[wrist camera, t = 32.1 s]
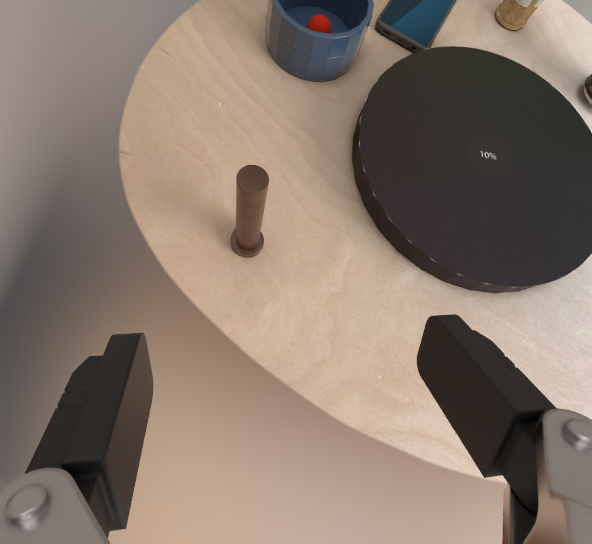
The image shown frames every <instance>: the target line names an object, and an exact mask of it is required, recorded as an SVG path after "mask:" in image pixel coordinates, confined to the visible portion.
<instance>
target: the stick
mask: <svg viewBox="0 0 592 544" xmlns="http://www.w3.org/2000/svg"><path fill="white" fill-rule="evenodd" d="M268 183H269V177H268V174H267V173H266V171H265V170H264V169H263V168H261V167H259V166H256V165H247V166H245V167H243V168H242V169H240V171H239V172H238V174H237V185H236V229H235V230H234V231H233V233H232V235H231V246H232V249H233V250H234V252H235V253H236V254H238V255H239V256H242V257H253V256H255V255H257V254H258V253H259V252H260V251H261V249H262V247H263V243H264V238H263V235H262V233H261V231H260V230H261V224H262V219H263V213H264V207H265V201H266V195H267V189H268Z"/></svg>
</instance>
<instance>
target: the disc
mask: <svg viewBox="0 0 592 544" xmlns="http://www.w3.org/2000/svg"><path fill="white" fill-rule="evenodd" d="M352 159H353V165H354V171H355V177H356V183H357V185H358V188H359V190H360V193H361V196H362V198H363V201H364V204H365V206H366V208H367V209H368V211H369V213H370V214H371V216H372V218H373V219H374V221H375V223H376V224H377V226H378V228H379V229H380V230H381V231H382V233H383V234H384V235H385V236H386V237H387V238H388V239H389V241H390V242H391V243H392V244H393V245H394V246H395V247H396V248H397V250H398V251H400V252H401V253H402V254H403V255H405V256H406V257H407V258H408V259H410V260H411V261H412V262H413V263H415V264H416V265H417V266H418V267H420V268H421V269H423V270H425V271H427V272H429V273H430V274H432V275H434V276H436V277H438V278H439V279H441V280H443V281H445V282H448V283H451V284H454V285H457V286H460V287H463V288H466V289H469V290H476V291H483V292H491V293H502V292H514V291H521V290H524V289H527V288H530V287H534V286H537V285H542V284H545V283H548V282H551V281H554V280H557V279H560V278H562V277H564V276H565V275H567V274H568V273H570V272H572V271H573V270H575V269H576V268H578V267H579V266H581V265H582V264H583V262H584V261H585V260H586V259H587V258H588V257H589V256H590V255H591V253H592V133H591V131H590V130H589V128H588V126H587V124H586V123H585V121H584V120H583V119H582V117H581V116H580V115H579V113H578V112H577V111H576V110H575V108H574V107H573V106H572V104H571V103H570V102H569V101H568V100H567V99H566V98H565V97H564V96H563V95H562V94H561V93H560V92H559V91H558V90H557V89H556V88H555V87H554V86H552V85H551V84H550V83H548V82H547V81H546V80H544V79H543V78H542V77H540V76H539V75H538V74H536V73H535V72H533V71H532V70H530V69H528V68H526V67H524V66H523V65H521V64H519V63H517V62H515V61H514V60H511V59H508V58H506V57H503V56H501V55H498V54H495V53H493V52H489V51H484V50H480V49H475V48H471V47H455V46H445V47H437V48H430V49H425V50H422V51H419V52H416V53H413V54H411V55H408V56H406V57H404V58H403V59H401V60H400V61H398V62H396V63H395V64H393V65H392V66H390V67H389V68H388V69H387V70H386V71H385V72H384V73H383V74H382V75H381V76H380V77H379V79H378V80H377V81H376V82H375V84H374V86H373V87H372V89H371V91H370V93H369V94H368V96H367V98H366V100H365V104H364V107H363V109H362V111H361V113H360V115H359V118H358V122H357V125H356V129H355V133H354V136H353V156H352Z"/></svg>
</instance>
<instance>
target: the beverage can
mask: <svg viewBox="0 0 592 544" xmlns="http://www.w3.org/2000/svg"><path fill="white" fill-rule="evenodd" d="M584 94H585V96H586V98H587V100H588V101H589V102H590V104H591V105H592V74H591V75H590V76H589V77H587V79H586V80H585V88H584Z"/></svg>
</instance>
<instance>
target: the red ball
mask: <svg viewBox="0 0 592 544" xmlns="http://www.w3.org/2000/svg"><path fill="white" fill-rule="evenodd" d="M307 28H308V29H311V30H313V31H315V32H322V33H329V34H330V32H331V24H330V21H329V20H328V18H327V17H326V16H324V15H321V14H318V15H315V16H313V17H312V18H311V19H310V20H309V22H308V25H307Z"/></svg>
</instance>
